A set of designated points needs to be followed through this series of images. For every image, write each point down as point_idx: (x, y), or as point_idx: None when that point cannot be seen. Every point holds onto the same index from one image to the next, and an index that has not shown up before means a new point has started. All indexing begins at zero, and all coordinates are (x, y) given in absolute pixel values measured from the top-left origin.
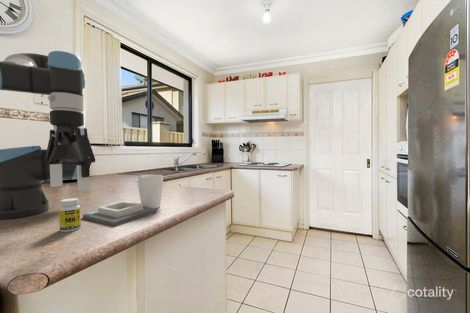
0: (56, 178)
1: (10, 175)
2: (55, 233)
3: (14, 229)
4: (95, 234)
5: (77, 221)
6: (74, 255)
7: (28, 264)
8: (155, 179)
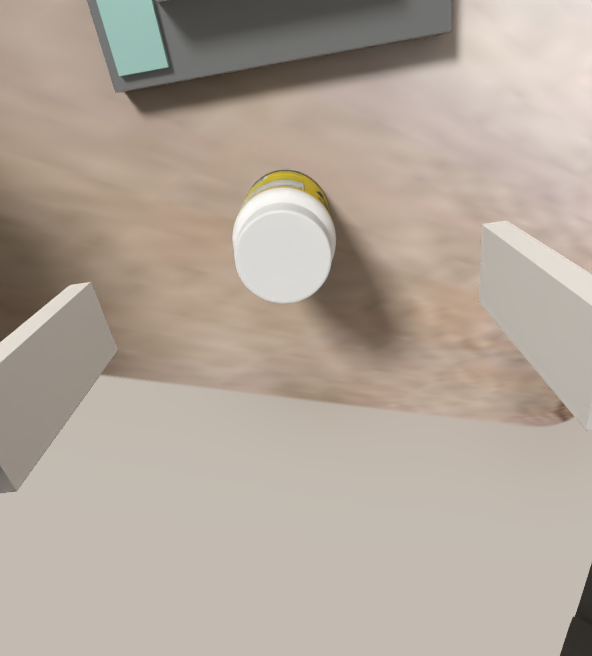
0: (77, 356)
1: None
2: None
3: None
4: (465, 165)
5: (326, 201)
6: None
7: (512, 385)
8: None
